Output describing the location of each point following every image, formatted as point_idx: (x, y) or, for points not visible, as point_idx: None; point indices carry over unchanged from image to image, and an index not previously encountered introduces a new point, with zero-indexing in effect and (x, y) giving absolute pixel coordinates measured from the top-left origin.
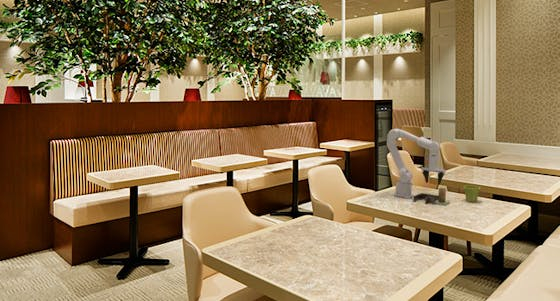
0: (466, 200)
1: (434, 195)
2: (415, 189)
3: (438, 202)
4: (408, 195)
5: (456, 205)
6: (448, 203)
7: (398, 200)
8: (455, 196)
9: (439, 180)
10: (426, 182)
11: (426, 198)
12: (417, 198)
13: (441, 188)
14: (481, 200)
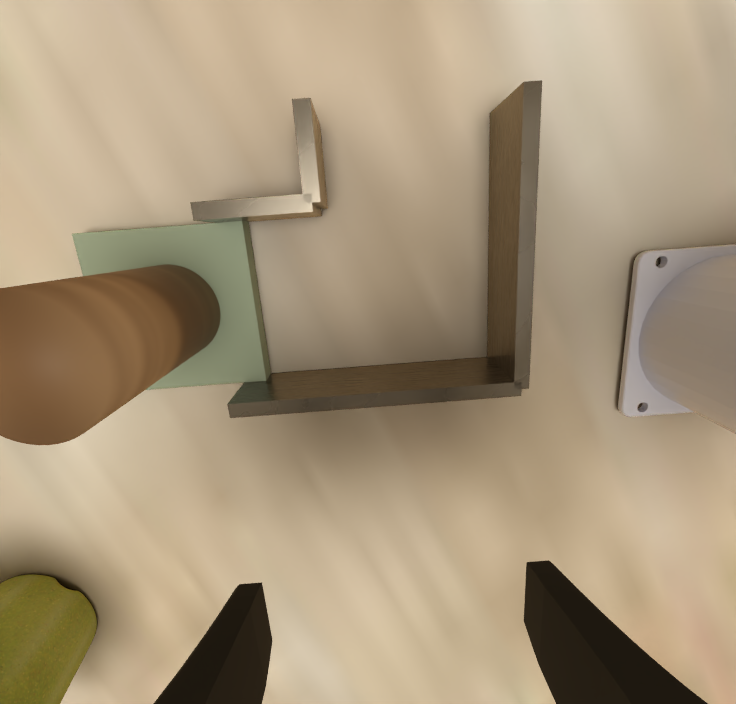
0: (66, 588)
1: (313, 396)
2: (705, 672)
3: (182, 246)
4: (671, 298)
5: None
6: None
7: (719, 28)
8: None
9: (172, 679)
10: (539, 566)
11: (293, 100)
12: (498, 226)
13: (51, 377)
14: None
